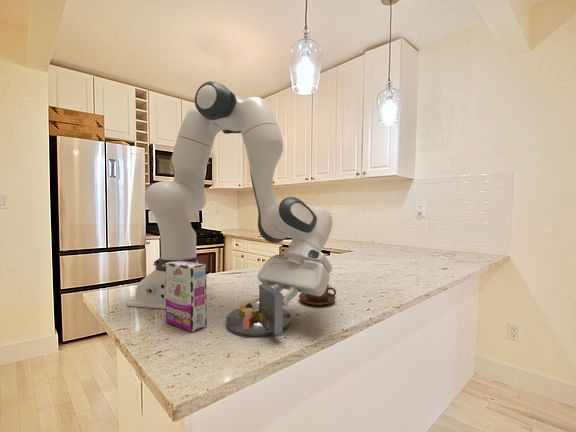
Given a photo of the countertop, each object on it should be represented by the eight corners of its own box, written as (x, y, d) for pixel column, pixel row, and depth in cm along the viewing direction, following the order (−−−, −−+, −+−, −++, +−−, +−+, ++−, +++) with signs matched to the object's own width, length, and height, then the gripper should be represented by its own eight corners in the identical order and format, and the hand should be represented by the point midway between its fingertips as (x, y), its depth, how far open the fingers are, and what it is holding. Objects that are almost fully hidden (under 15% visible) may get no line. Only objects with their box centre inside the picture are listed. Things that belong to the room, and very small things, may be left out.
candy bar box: (208, 326, 77) (207, 264, 76) (192, 333, 73) (191, 267, 72) (180, 317, 83) (180, 259, 83) (164, 323, 79) (164, 262, 78)
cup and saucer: (332, 296, 103) (332, 279, 103) (338, 308, 91) (338, 288, 91) (298, 296, 103) (298, 278, 103) (299, 308, 91) (299, 288, 91)
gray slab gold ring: (235, 311, 81) (235, 279, 81) (268, 306, 86) (268, 275, 85) (258, 337, 65) (258, 297, 65) (297, 329, 70) (297, 291, 69)
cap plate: (219, 338, 70) (219, 313, 70) (232, 311, 88) (232, 291, 87) (291, 337, 71) (291, 312, 70) (289, 311, 88) (289, 291, 88)
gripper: (267, 247, 85) (242, 289, 78) (328, 254, 72) (306, 305, 65) (277, 260, 89) (255, 301, 82) (338, 269, 76) (317, 318, 69)
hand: (278, 303), depth 73 cm, fingers closed
